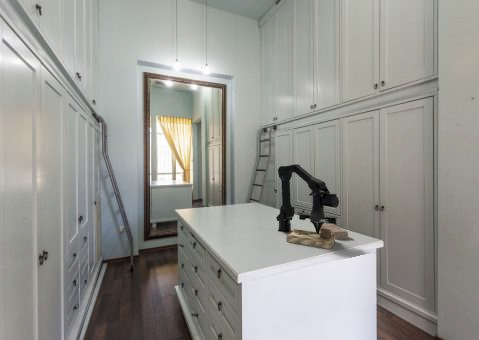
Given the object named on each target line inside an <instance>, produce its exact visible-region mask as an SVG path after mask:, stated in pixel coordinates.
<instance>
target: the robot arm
mask: <svg viewBox="0 0 479 340" xmlns="http://www.w3.org/2000/svg"><path fill="white" fill-rule="evenodd" d="M277 173H278V177H279V180H280V181H281V202H282V203H281V204H282V205H281V206H280V209H279V214H278V215H277V216H276V221H277V222H278V229H277V231H279V232H284V233H289V232H290V231H291V230H292V223H291V221H292V220H293V217H295V207H294V206H292V203H291V182H290V181H291V179H292V177H293V173H294V174H296V175H297V176H299V178H300V179H302V180H303V181H304V182H305V183H306V184H307V186H308V188H309V189H310V191H311V192H310V193H309V194H308V196H309V197H312V207H311V211H310V213H307V212H301V213H300V214H299V216H298V219H299V221H300V220H301V221H306V219H308V220H309V222H310V223H311V224H312V225H313V227H314V229H315V232H316V233H317V234H319V233H320V229H321V227H322V225H323V224H326V223H327V222H328V224H334V225H337V224H338V222H339V221H338V216H335V215H329V216H325V214H326V213H325V207H328V208H338V206H339V204H340V199H339V197H338V196H337V193H331V192H330V190H329V188H328V187H327V184H326V183H325V181H324V180H322V179H319V178H316V177H315V176H313V175H312V174H311V173H309V172H308V171H306V170H305V168H303V167H302V166H301V165H300V164H296V163H295V164H290V165H281V166H279V167H278V169H277Z"/></svg>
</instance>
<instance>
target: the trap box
mask: <svg viewBox="0 0 479 340" xmlns="http://www.w3.org/2000/svg"><path fill="white" fill-rule="evenodd" d="M285 240H286V241H285V242H288V243H295V244H299V245H303V246H304V245H305V246H311V247H317V248H322V249H329V250H330V249H331V248H332V247H333V245H334V243H335V242H336V239H335V233H333V234H331V237H330V238H329V239H323V238H320V232H319V234H317V233H316V231H313V230H312V231H311V230H303V229H297V228H293V231H292V232H290V233H289V234H286V235H285Z"/></svg>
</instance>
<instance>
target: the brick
mask: <svg viewBox="0 0 479 340" xmlns="http://www.w3.org/2000/svg"><path fill="white" fill-rule="evenodd" d="M322 228H324V229H331V234H333V233H335V240H344V239H345V240H348V239H349V231H348V230H346V229H343V228H340V227H339V226H337V225H336V224H331V223H325V224H323V225H322V227H321V229H322ZM321 229H320V230H321Z"/></svg>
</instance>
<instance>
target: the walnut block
mask: <svg viewBox="0 0 479 340" xmlns="http://www.w3.org/2000/svg"><path fill="white" fill-rule="evenodd" d="M319 233H320V238H323V239H329V238H330V237H331V229H324V228H322V229H321V230H320V232H319Z"/></svg>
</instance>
